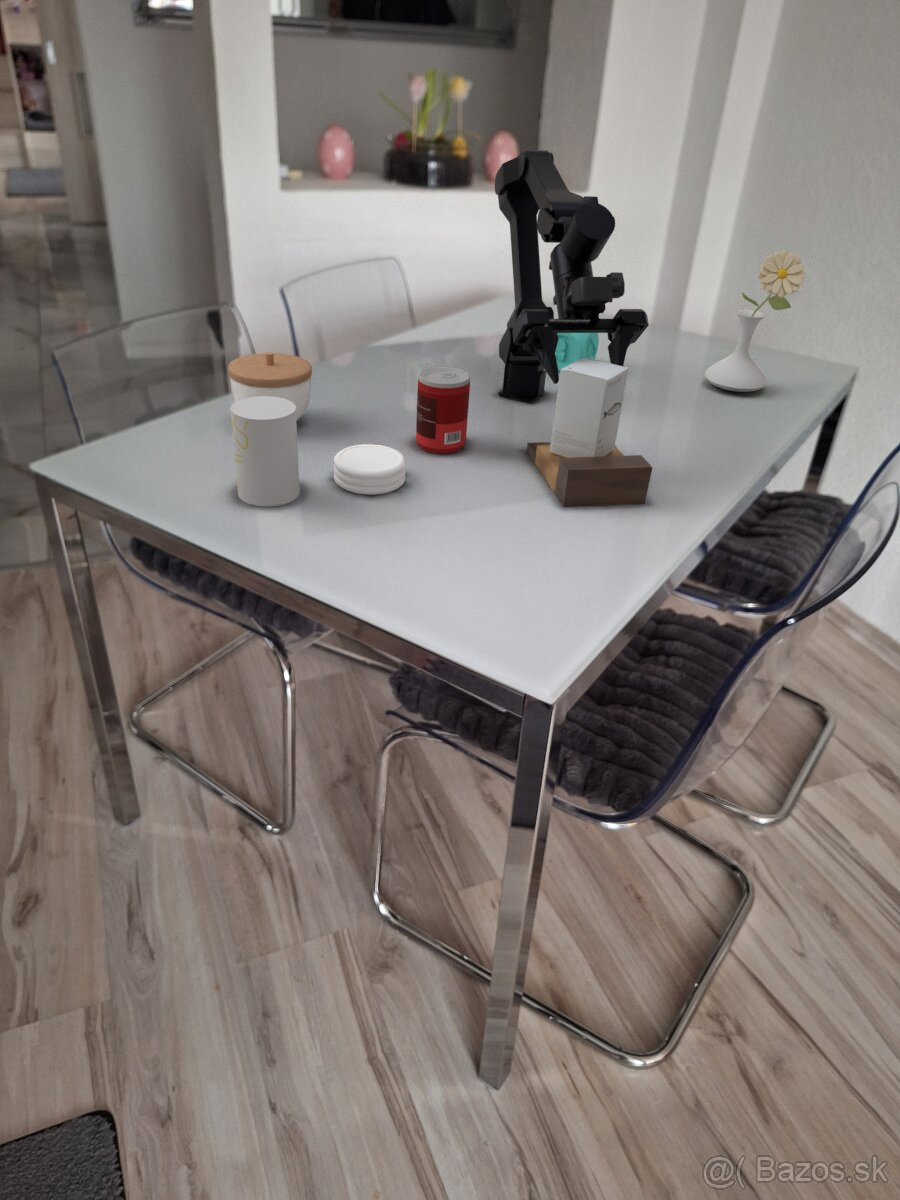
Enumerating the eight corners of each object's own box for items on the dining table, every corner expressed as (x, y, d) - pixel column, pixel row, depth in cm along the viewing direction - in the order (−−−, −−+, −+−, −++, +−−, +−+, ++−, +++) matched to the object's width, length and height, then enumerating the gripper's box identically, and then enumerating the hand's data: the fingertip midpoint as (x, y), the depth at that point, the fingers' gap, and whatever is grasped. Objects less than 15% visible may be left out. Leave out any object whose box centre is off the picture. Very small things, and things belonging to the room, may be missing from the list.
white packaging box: (593, 467, 121) (607, 380, 114) (547, 452, 124) (558, 367, 117) (615, 451, 126) (630, 367, 119) (571, 438, 130) (582, 355, 123)
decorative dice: (595, 366, 169) (601, 325, 164) (578, 376, 163) (584, 334, 158) (559, 357, 172) (564, 317, 168) (540, 367, 166) (545, 325, 162)
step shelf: (526, 451, 132) (530, 417, 129) (599, 449, 134) (605, 416, 131) (563, 507, 117) (568, 470, 114) (645, 503, 119) (652, 467, 116)
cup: (241, 478, 118) (234, 395, 112) (301, 479, 119) (297, 396, 113) (234, 506, 112) (226, 418, 105) (297, 506, 112) (293, 420, 106)
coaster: (377, 503, 115) (377, 479, 113) (319, 482, 119) (318, 459, 117) (418, 477, 122) (419, 455, 120) (362, 459, 126) (362, 437, 124)
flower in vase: (698, 390, 160) (730, 249, 146) (706, 373, 169) (737, 238, 155) (770, 403, 156) (809, 259, 143) (775, 385, 165) (812, 248, 152)
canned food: (472, 439, 135) (477, 370, 128) (455, 458, 128) (460, 387, 122) (426, 430, 136) (429, 362, 130) (408, 449, 130) (410, 378, 124)
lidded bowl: (328, 417, 139) (327, 350, 133) (284, 443, 129) (280, 372, 123) (263, 402, 143) (259, 335, 137) (216, 426, 133) (209, 356, 127)
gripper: (526, 247, 114) (540, 356, 112) (656, 250, 118) (673, 354, 115) (506, 292, 125) (518, 392, 122) (625, 293, 129) (640, 390, 126)
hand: (587, 382), depth 121 cm, fingers open, 9 cm apart
